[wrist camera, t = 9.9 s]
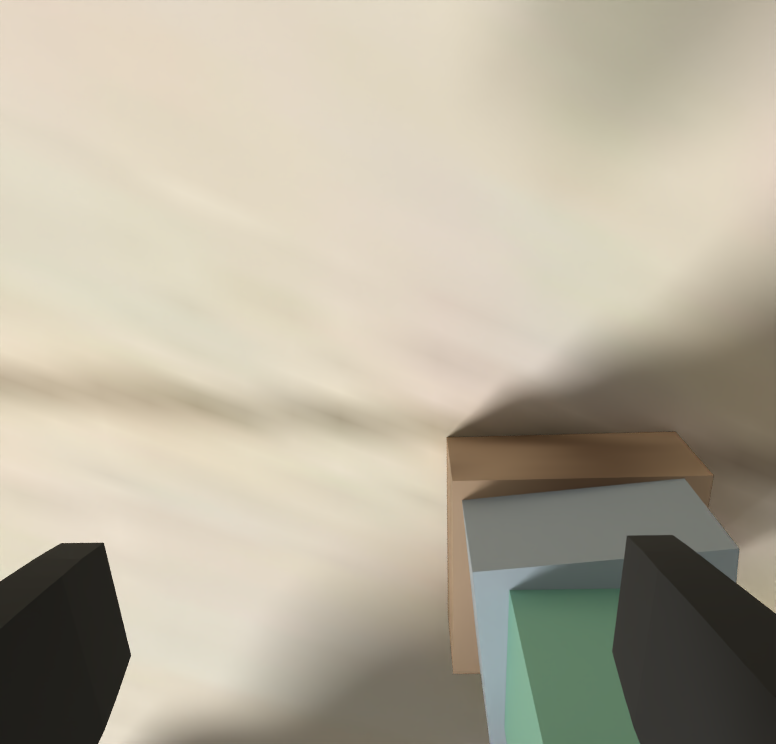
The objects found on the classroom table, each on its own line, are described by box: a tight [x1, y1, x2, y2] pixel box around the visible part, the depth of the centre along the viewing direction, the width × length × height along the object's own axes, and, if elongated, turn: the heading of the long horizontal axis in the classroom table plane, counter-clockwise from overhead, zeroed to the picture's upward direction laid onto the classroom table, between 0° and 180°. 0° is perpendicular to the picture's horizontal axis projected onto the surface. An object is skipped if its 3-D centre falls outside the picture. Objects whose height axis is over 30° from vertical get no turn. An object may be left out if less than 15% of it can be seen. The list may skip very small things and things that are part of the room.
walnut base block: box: [447, 432, 714, 674], centre depth 20 cm, size 7×7×3 cm
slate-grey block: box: [462, 478, 739, 744], centre depth 17 cm, size 6×6×3 cm
